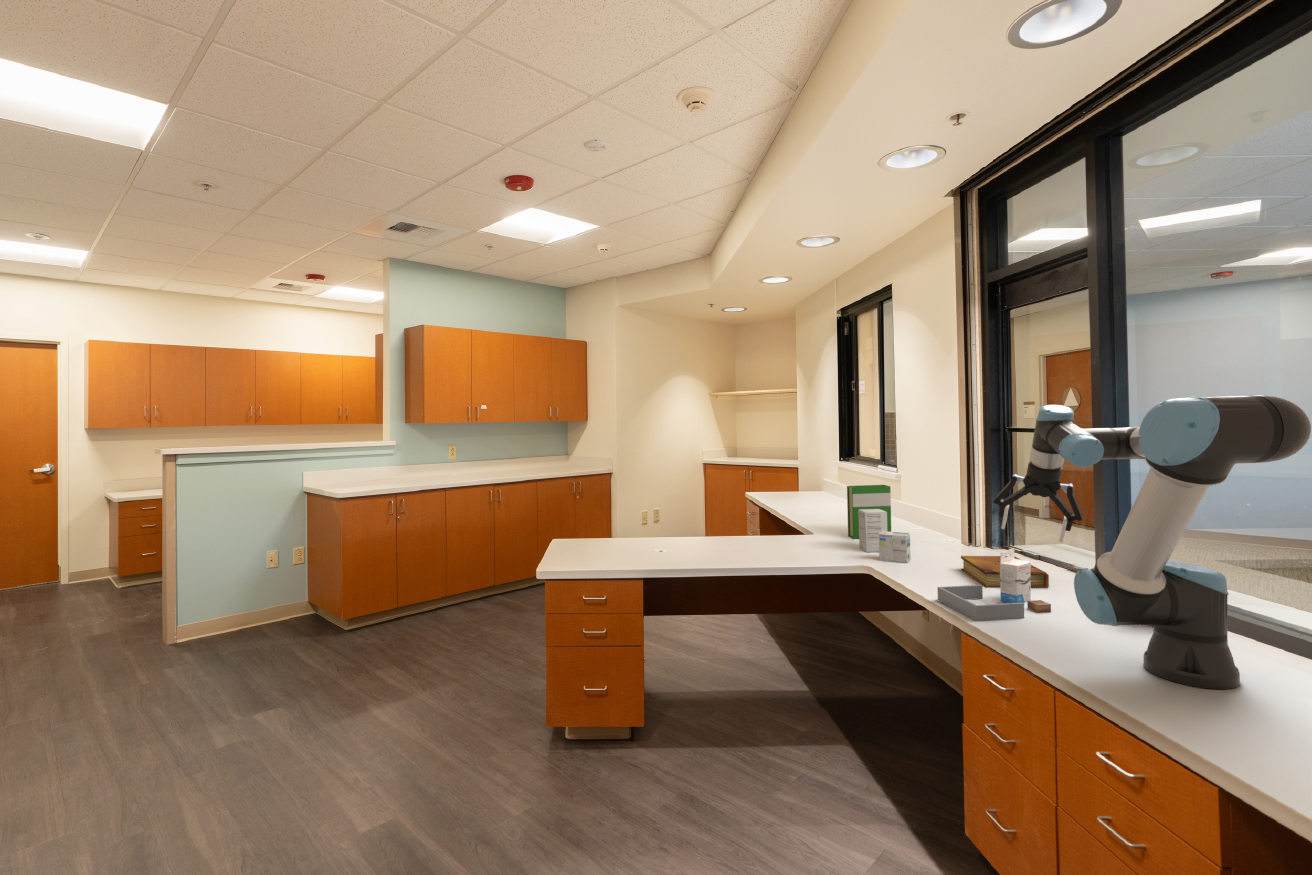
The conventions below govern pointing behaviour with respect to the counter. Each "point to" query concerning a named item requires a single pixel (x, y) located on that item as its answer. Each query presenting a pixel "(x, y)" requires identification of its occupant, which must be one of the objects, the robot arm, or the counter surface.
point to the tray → (957, 600)
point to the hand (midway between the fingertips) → (1031, 533)
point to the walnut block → (1039, 606)
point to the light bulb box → (894, 546)
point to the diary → (997, 571)
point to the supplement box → (871, 528)
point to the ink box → (1014, 579)
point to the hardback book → (867, 504)
